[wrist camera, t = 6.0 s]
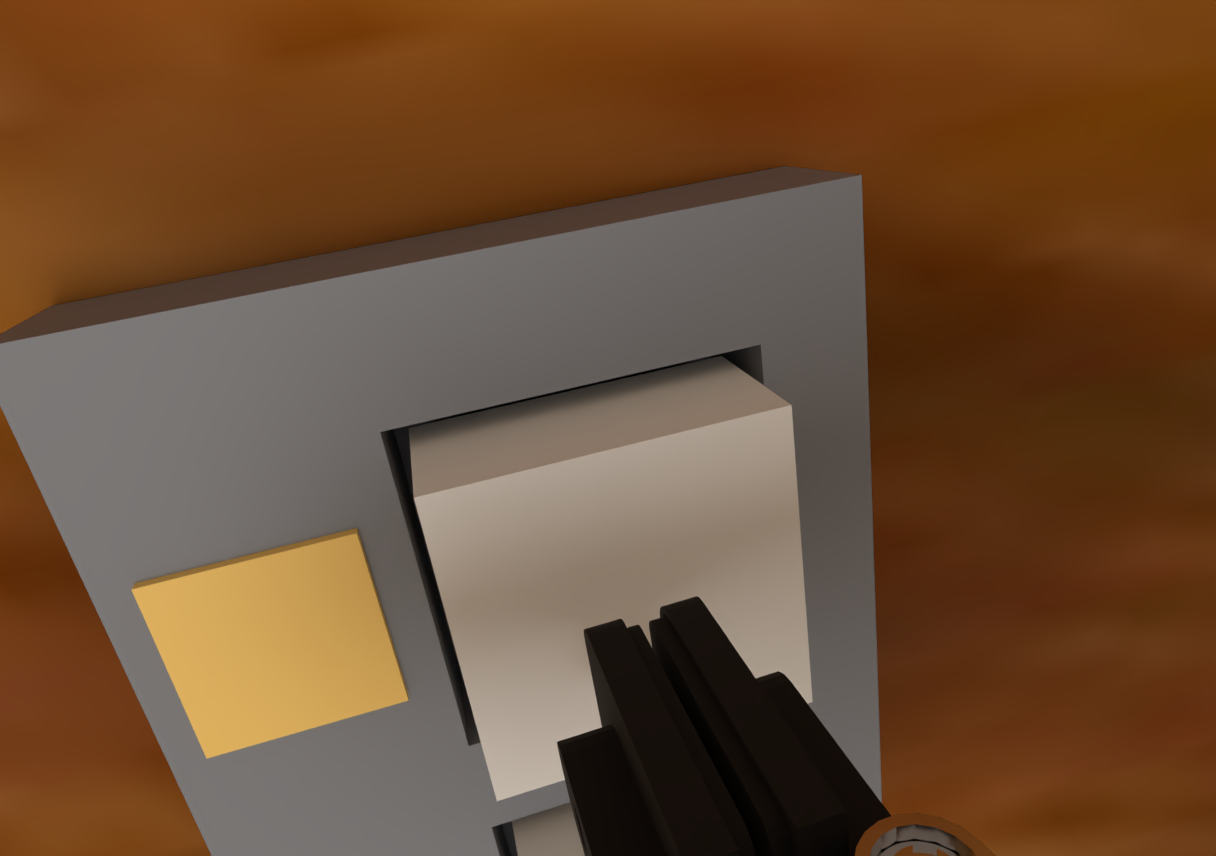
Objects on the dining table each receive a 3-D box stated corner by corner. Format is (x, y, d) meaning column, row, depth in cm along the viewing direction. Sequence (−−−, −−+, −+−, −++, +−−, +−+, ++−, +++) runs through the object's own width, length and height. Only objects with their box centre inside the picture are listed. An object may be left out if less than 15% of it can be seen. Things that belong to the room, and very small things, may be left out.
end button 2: (721, 355, 16) (791, 404, 13) (748, 614, 18) (812, 701, 15) (408, 428, 15) (413, 497, 12) (478, 692, 17) (496, 801, 14)
